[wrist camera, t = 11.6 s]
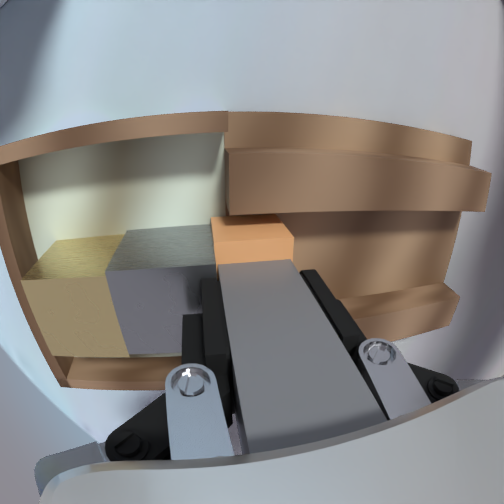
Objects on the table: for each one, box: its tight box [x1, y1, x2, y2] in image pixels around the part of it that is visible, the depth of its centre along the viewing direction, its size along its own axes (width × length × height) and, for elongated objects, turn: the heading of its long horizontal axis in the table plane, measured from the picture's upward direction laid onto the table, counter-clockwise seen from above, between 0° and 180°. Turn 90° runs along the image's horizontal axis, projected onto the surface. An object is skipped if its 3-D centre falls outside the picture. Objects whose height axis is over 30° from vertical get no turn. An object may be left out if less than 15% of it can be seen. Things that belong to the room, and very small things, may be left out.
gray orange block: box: [211, 214, 387, 455], centre depth 10 cm, size 3×5×11 cm, turn 0°
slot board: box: [0, 111, 492, 390], centre depth 15 cm, size 26×14×3 cm, turn 90°
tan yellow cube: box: [21, 234, 130, 357], centre depth 12 cm, size 4×4×4 cm
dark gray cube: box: [105, 224, 217, 354], centre depth 13 cm, size 4×4×4 cm
